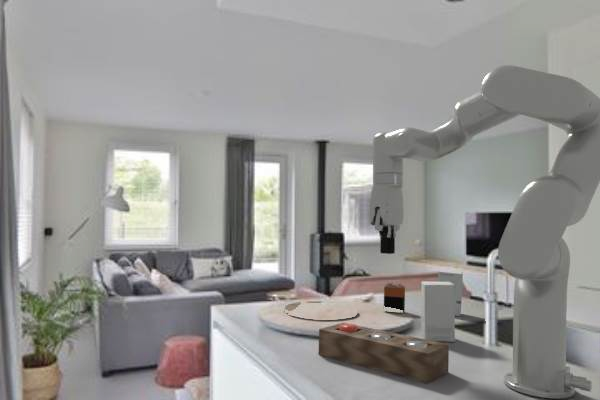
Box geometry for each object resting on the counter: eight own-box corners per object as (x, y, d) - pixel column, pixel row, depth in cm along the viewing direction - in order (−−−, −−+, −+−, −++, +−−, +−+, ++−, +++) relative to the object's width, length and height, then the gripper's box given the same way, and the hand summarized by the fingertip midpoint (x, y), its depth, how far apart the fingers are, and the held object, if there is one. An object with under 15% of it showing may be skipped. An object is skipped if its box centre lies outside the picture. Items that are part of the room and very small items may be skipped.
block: (448, 372, 103) (448, 344, 103) (427, 383, 95) (428, 353, 95) (342, 346, 121) (343, 322, 121) (318, 354, 113) (319, 329, 114)
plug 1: (393, 358, 108) (394, 335, 109) (383, 363, 105) (384, 339, 105) (377, 354, 111) (377, 332, 111) (366, 358, 108) (367, 335, 108)
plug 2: (430, 368, 102) (431, 343, 103) (421, 372, 99) (421, 347, 99) (412, 363, 105) (412, 339, 106) (402, 368, 102) (402, 343, 102)
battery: (385, 310, 170) (386, 282, 170) (404, 311, 168) (405, 283, 168) (383, 312, 166) (384, 283, 166) (403, 314, 163) (403, 285, 164)
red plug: (360, 348, 114) (361, 325, 114) (350, 351, 111) (350, 328, 111) (345, 344, 117) (346, 322, 117) (335, 347, 114) (335, 325, 114)
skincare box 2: (436, 314, 164) (437, 271, 165) (437, 311, 170) (438, 269, 171) (461, 316, 162) (462, 273, 162) (462, 313, 167) (462, 271, 168)
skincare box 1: (450, 336, 134) (451, 281, 134) (455, 343, 127) (456, 284, 128) (419, 335, 134) (420, 280, 135) (423, 341, 128) (424, 283, 128)
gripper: (389, 184, 130) (389, 251, 129) (359, 180, 118) (359, 254, 117) (414, 182, 125) (414, 252, 124) (386, 178, 113) (385, 255, 112)
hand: (387, 253), depth 121 cm, fingers closed
